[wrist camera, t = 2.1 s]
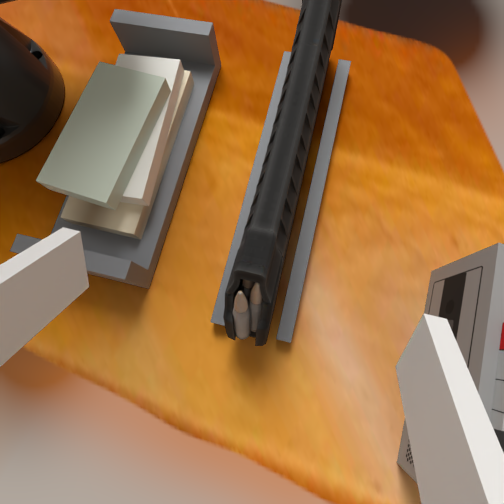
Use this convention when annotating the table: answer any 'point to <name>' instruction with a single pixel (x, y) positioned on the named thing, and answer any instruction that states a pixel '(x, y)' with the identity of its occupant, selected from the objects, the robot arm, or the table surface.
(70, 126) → the offcut
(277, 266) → the magazine
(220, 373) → the table surface
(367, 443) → the table surface
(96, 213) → the offcut
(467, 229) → the table surface
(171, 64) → the offcut
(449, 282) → the cassette player
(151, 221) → the rack
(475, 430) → the robot arm
